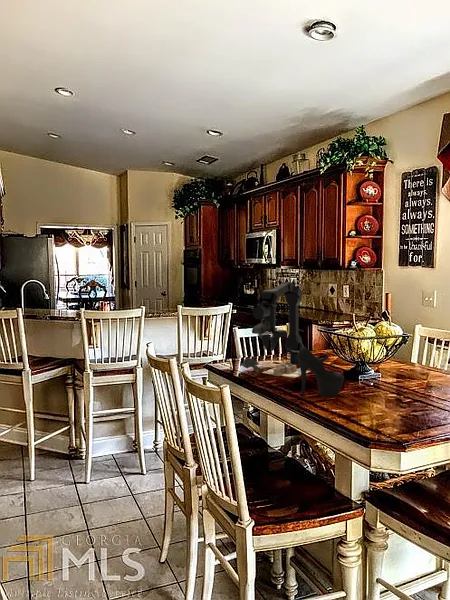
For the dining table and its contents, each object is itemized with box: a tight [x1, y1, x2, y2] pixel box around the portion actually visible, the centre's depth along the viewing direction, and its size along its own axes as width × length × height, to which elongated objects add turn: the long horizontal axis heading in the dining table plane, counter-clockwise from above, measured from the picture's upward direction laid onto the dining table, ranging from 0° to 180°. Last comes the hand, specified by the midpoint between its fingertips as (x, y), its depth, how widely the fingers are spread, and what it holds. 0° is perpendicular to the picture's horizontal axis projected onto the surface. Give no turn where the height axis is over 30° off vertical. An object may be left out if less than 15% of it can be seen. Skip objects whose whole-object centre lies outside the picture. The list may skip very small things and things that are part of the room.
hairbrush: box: [242, 357, 262, 371], centre depth 253 cm, size 8×4×25 cm
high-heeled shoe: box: [297, 346, 345, 398], centre depth 203 cm, size 8×19×20 cm, turn 94°
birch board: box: [261, 367, 312, 379], centre depth 240 cm, size 16×18×1 cm
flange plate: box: [273, 363, 298, 377], centre depth 237 cm, size 14×7×3 cm, turn 144°
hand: (269, 350), depth 238 cm, fingers open, 4 cm apart
